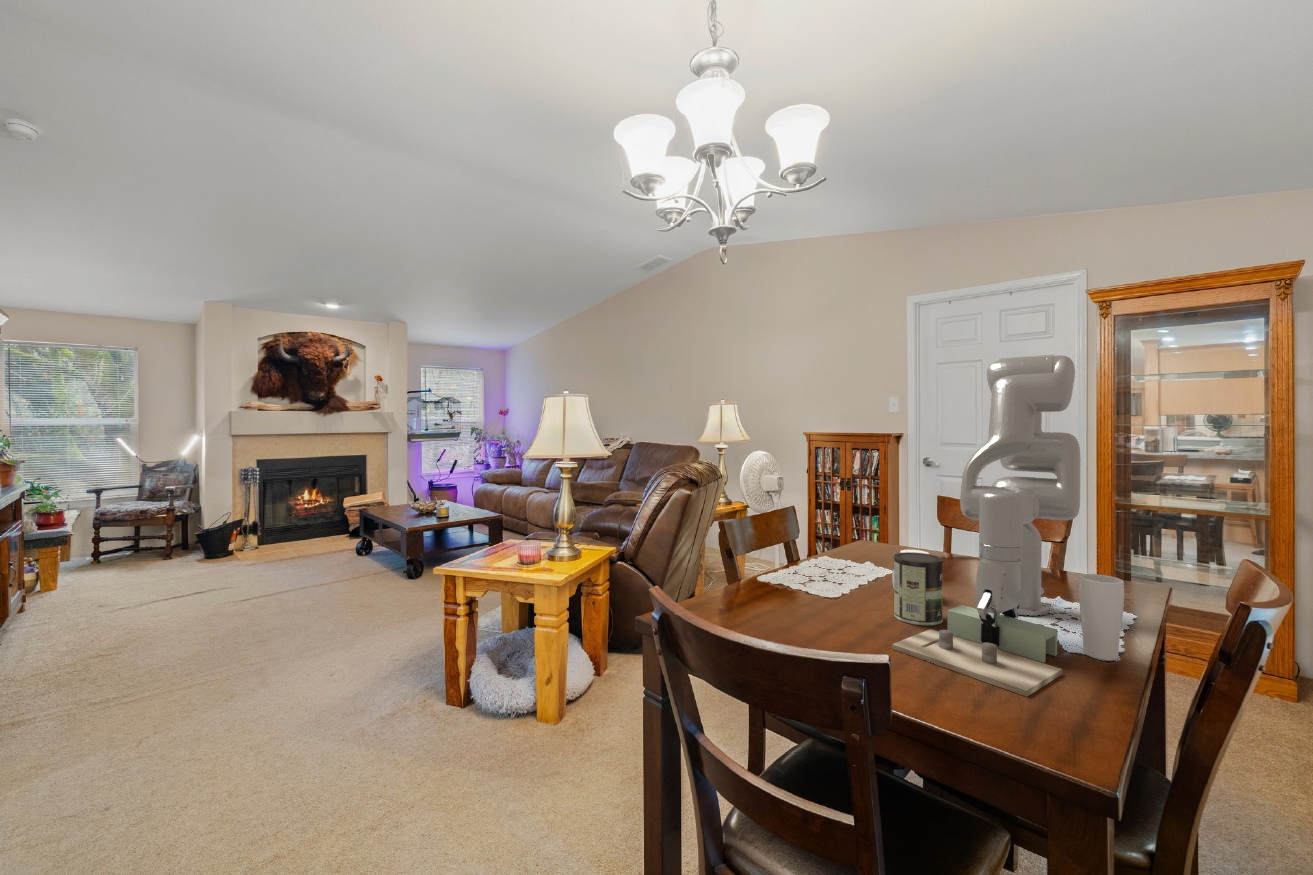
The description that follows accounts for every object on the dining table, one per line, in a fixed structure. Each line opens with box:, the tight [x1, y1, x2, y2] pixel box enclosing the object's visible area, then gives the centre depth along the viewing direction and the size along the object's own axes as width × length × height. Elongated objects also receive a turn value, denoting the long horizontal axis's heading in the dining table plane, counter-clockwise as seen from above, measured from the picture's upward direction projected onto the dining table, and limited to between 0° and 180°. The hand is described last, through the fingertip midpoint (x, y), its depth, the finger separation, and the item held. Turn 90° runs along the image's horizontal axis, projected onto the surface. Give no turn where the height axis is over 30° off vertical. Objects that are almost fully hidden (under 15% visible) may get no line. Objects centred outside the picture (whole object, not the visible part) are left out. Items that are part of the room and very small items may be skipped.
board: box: [891, 628, 1063, 697], centre depth 106 cm, size 14×24×4 cm, turn 35°
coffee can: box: [893, 552, 944, 627], centre depth 129 cm, size 10×10×14 cm
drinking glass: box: [1078, 573, 1125, 662], centre depth 108 cm, size 7×7×15 cm
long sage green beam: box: [947, 604, 1058, 664], centre depth 114 cm, size 6×18×5 cm, turn 35°
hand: (999, 639), depth 114 cm, fingers open, 7 cm apart
